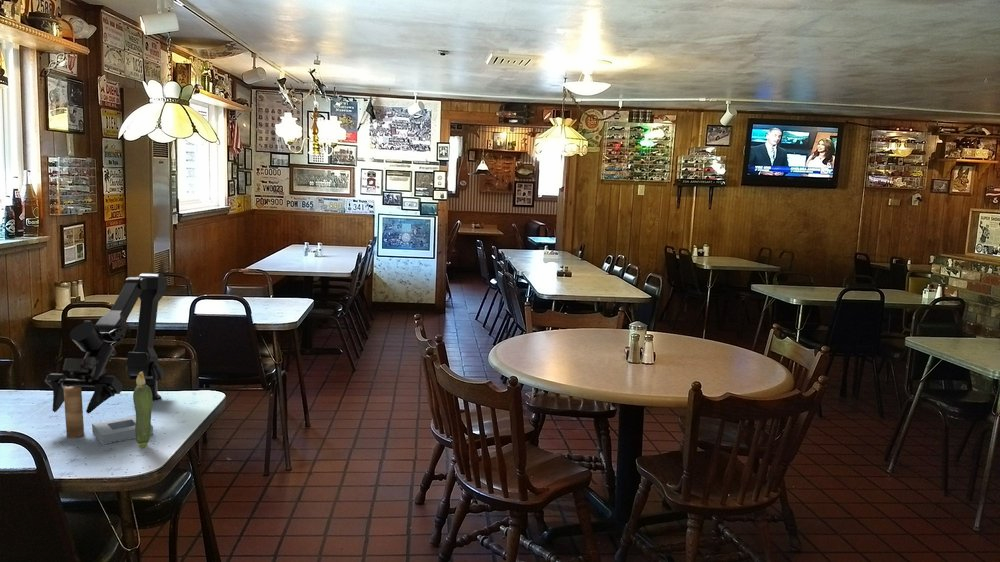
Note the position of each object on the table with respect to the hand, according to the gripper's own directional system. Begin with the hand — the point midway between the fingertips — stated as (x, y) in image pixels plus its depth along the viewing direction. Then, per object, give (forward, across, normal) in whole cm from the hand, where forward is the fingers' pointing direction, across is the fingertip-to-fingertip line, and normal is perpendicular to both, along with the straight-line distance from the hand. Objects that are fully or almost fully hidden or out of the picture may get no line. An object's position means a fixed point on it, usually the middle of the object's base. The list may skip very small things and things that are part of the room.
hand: (70, 412), depth 186 cm
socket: (+2, +11, +8) cm, 14 cm away
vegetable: (+8, +23, +2) cm, 24 cm away
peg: (+4, 0, +6) cm, 7 cm away
